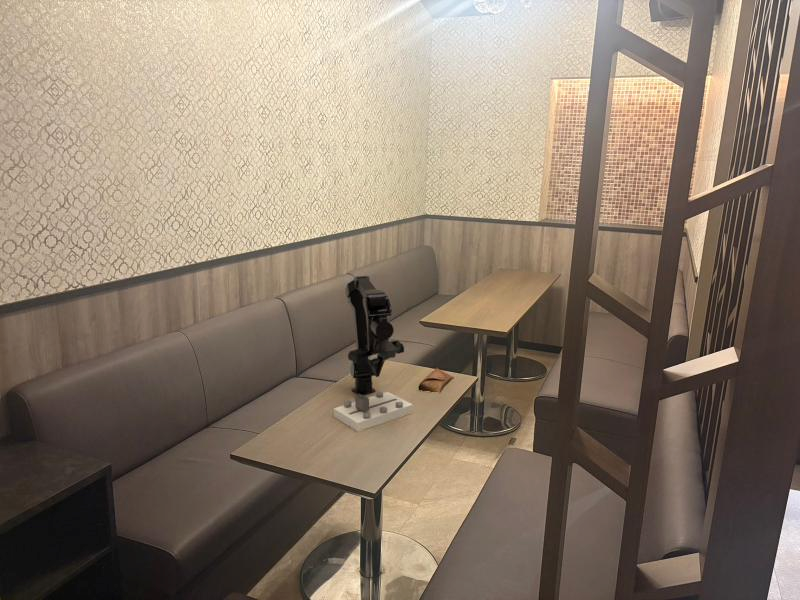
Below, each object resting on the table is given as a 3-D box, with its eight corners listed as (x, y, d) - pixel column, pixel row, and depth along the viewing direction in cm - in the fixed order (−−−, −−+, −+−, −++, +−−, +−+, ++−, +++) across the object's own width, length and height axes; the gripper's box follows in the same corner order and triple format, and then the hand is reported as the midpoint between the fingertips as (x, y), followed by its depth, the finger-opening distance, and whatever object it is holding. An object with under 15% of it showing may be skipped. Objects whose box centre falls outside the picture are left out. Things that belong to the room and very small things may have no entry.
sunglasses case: (440, 393, 211) (431, 377, 210) (424, 400, 214) (415, 384, 214) (455, 376, 227) (446, 361, 227) (440, 383, 230) (432, 368, 230)
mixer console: (334, 416, 193) (333, 404, 192) (387, 399, 206) (387, 388, 205) (357, 431, 182) (357, 419, 181) (412, 412, 195) (412, 401, 194)
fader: (355, 407, 191) (355, 396, 190) (361, 405, 193) (361, 394, 192) (363, 412, 188) (362, 400, 187) (369, 410, 189) (369, 398, 189)
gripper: (366, 342, 177) (367, 390, 181) (414, 331, 188) (414, 377, 192) (346, 334, 186) (347, 380, 189) (393, 323, 197) (394, 367, 200)
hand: (377, 376), depth 192 cm, fingers closed
